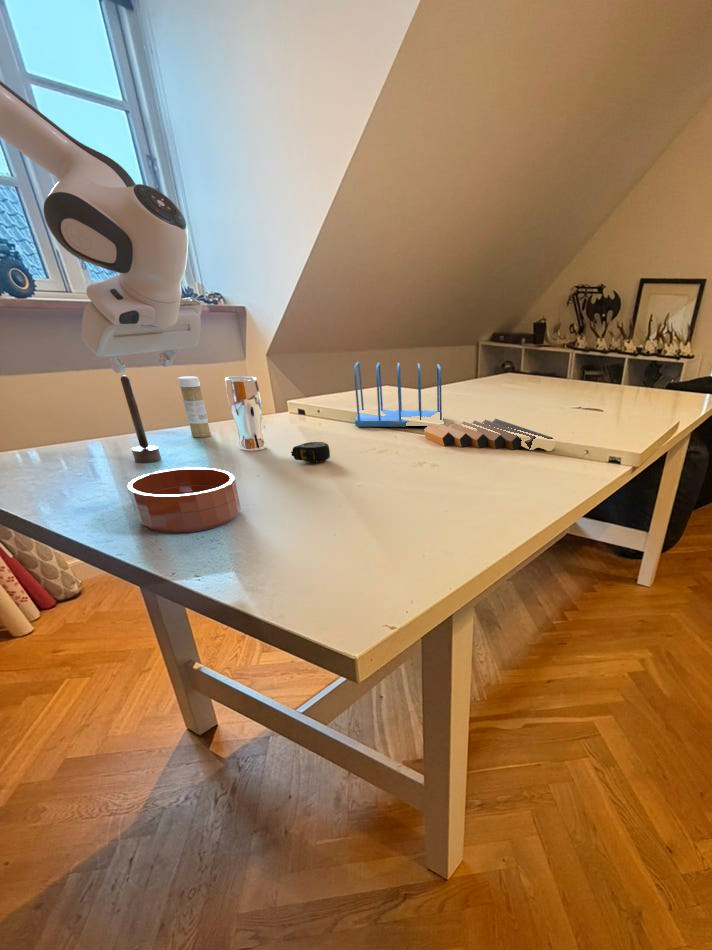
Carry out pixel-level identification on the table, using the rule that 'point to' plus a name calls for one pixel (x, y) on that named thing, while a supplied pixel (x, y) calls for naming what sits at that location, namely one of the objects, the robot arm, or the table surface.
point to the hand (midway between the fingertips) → (142, 366)
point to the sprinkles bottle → (194, 406)
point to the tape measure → (311, 452)
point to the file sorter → (395, 416)
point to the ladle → (139, 428)
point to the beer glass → (246, 411)
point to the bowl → (185, 499)
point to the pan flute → (480, 435)
